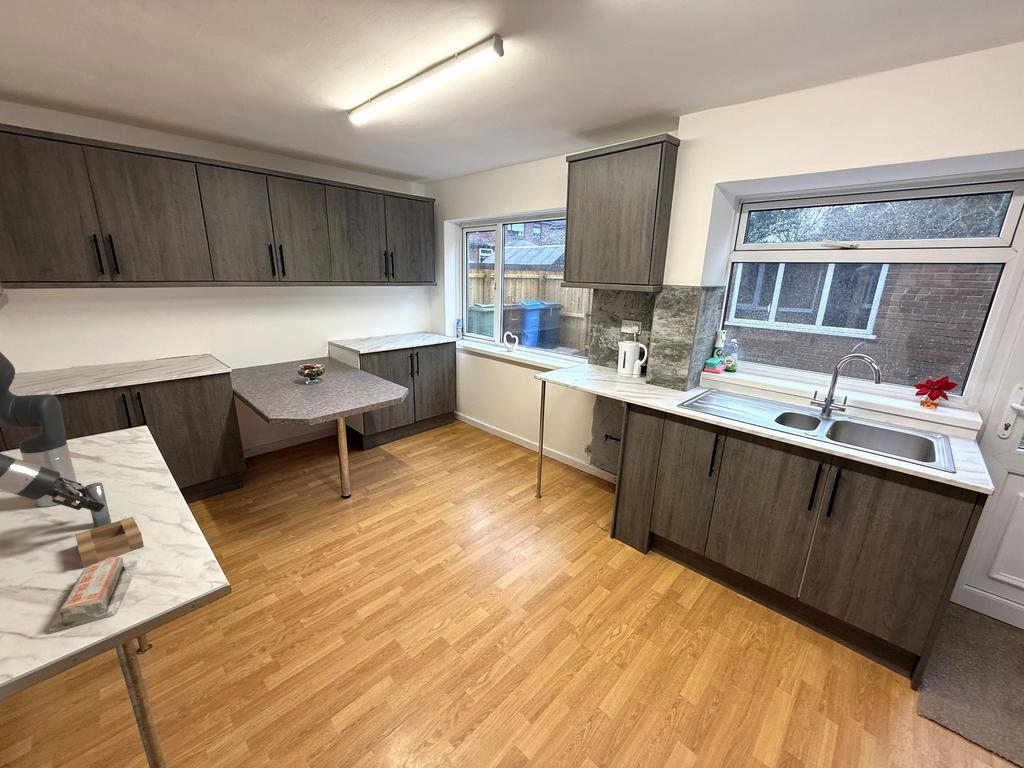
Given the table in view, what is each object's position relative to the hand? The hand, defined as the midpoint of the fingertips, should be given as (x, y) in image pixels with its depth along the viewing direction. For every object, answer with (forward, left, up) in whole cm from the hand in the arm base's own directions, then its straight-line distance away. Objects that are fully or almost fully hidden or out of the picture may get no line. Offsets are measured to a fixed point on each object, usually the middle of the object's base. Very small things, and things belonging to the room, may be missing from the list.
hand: (99, 502), depth 113 cm
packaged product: (+34, -5, -7) cm, 36 cm away
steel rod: (0, 0, -7) cm, 7 cm away
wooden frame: (+15, 0, -7) cm, 16 cm away
